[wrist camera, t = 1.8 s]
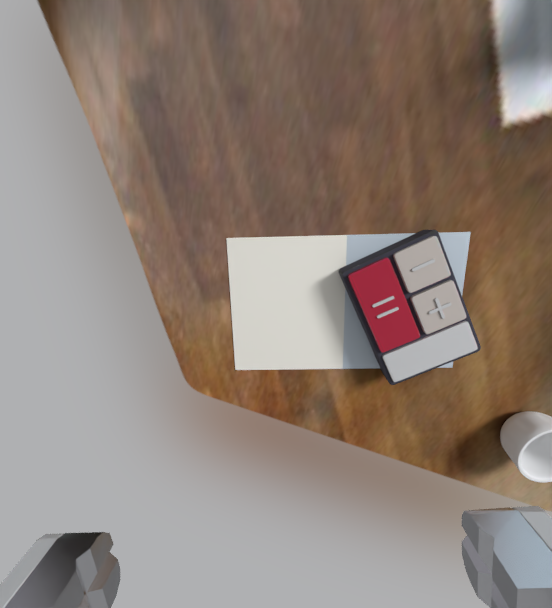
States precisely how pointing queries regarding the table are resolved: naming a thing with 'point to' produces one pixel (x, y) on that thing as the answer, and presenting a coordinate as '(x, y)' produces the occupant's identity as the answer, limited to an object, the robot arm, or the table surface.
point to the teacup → (529, 444)
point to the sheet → (307, 299)
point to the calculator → (410, 306)
